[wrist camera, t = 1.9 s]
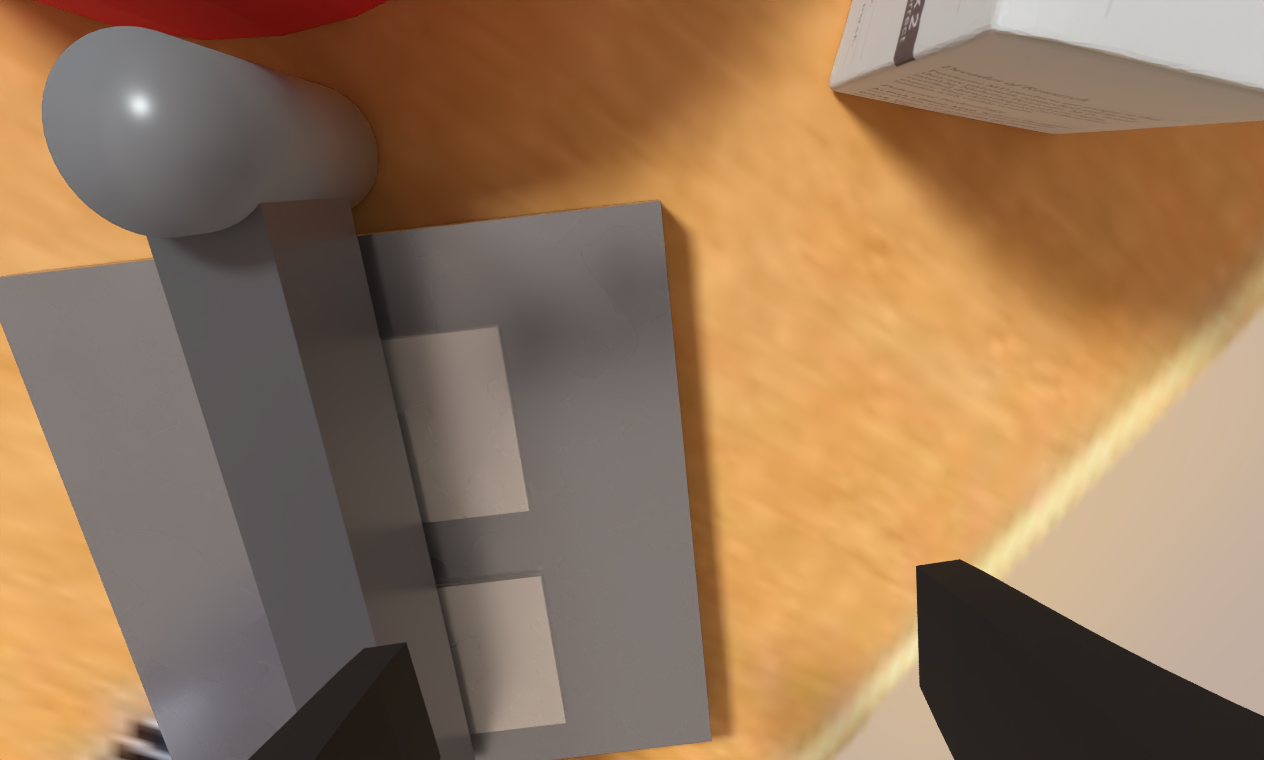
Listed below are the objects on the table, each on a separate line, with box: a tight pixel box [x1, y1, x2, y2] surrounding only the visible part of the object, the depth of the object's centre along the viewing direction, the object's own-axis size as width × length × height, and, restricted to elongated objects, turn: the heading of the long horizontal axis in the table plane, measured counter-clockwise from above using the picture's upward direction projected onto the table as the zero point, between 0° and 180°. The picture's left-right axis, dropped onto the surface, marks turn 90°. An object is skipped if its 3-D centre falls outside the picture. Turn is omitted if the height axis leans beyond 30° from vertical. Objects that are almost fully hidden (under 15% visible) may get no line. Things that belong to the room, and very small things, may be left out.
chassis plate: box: [0, 200, 712, 760], centre depth 18 cm, size 16×16×1 cm
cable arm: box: [42, 26, 475, 760], centre depth 15 cm, size 20×3×6 cm, turn 6°
